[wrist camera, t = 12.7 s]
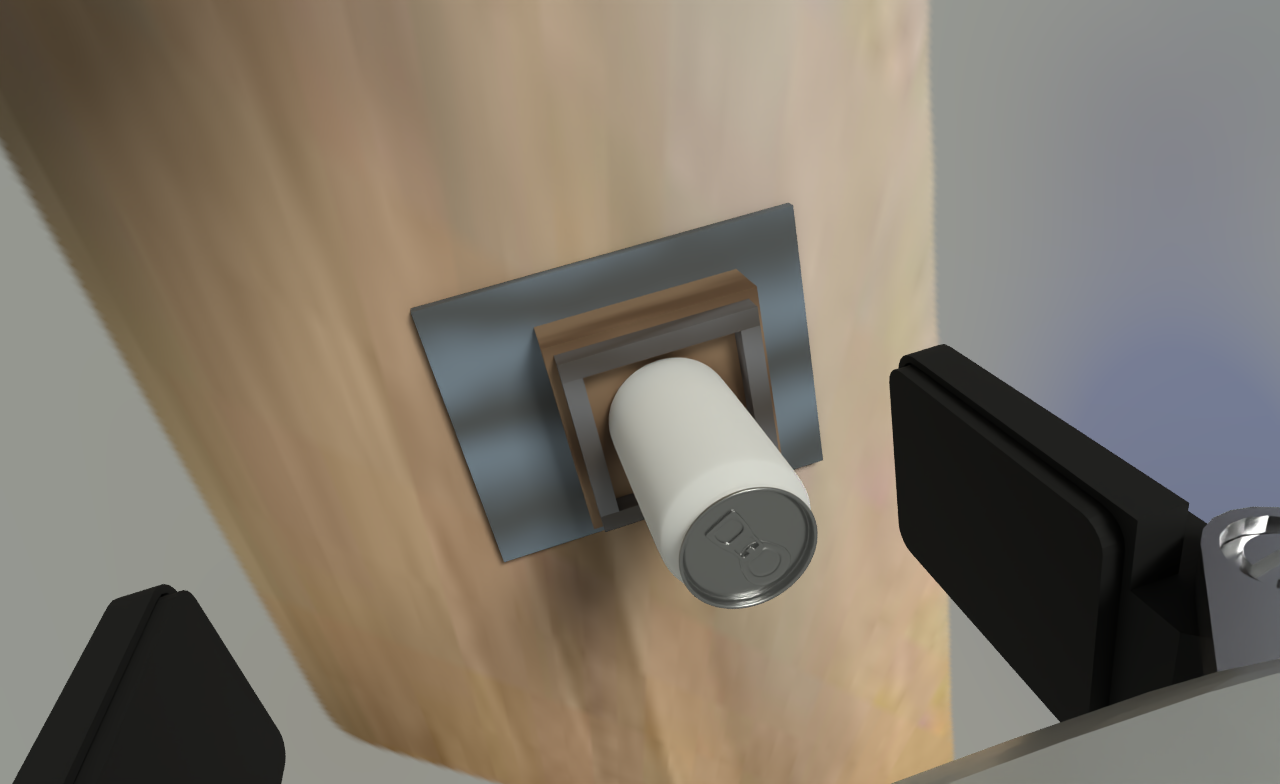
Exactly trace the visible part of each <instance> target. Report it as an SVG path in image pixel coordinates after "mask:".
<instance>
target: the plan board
mask: <svg viewBox="0 0 1280 784" xmlns="http://www.w3.org/2000/svg"><path fill="white" fill-rule="evenodd" d="M411 315H412V317H413V320H414V323H415V325H416V328H417V331H418V333H419V336H420V339H421V341H422V344H423V347H424V349H425V352H426V355H427V357H428V360H429V363H430V365H431V368H432V371H433V373H434V376H435V379H436V381H437V384H438V387H439V389H440V392H441V395H442V397H443V400H444V403H445V405H446V408H447V411H448V413H449V416H450V419H451V421H452V424H453V427H454V430H455V432H456V435H457V438H458V440H459V443H460V446H461V448H462V451H463V454H464V456H465V459H466V462H467V464H468V467H469V470H470V472H471V475H472V478H473V480H474V483H475V486H476V488H477V491H478V494H479V496H480V499H481V502H482V504H483V507H484V510H485V512H486V515H487V518H488V520H489V523H490V526H491V528H492V531H493V534H494V536H495V539H496V542H497V544H498V547H499V550H500V552H501V555H502V558H503V560H504V562H506V561H509V560H512V559H516V558H519V557H522V556H525V555H528V554H531V553H534V552H537V551H540V550H544V549H547V548H550V547H553V546H556V545H559V544H562V543H565V542H569V541H572V540H575V539H578V538H581V537H584V536H587V535H590V534H594V533H597V532H600V531H603V530H605V532H607V531H610V530H613V529H616V528H620V527H623V526H626V525H629V524H632V523H635V522H638V521H641V520H645V519H644V516H643V514H642V511H641V509H640V507H639V504H638V502H637V500H636V497H635V495H634V492H633V490H632V488H631V485H630V483H629V480H628V478H627V476H626V473H625V471H624V468H623V466H622V464H621V461H620V459H619V456H618V454H617V451H616V449H615V446H614V444H613V441H612V438H611V435H610V430H609V412H610V407H611V404H612V401H613V399H614V397H615V395H616V393H617V391H618V390H619V388H620V387H621V385H622V384H623V383H624V382H625V381H626V380H627V378H629V377H630V376H631V375H632V374H633V373H634V372H636V371H637V370H639V369H640V368H642V367H643V366H645V365H647V364H650V363H652V362H655V361H658V360H661V359H666V358H688V359H693V360H696V361H699V362H701V363H703V364H705V365H707V366H709V367H710V368H711V369H713V370H714V371H715V372H716V373H717V374H718V375H719V376H720V377H721V378H722V380H723V381H724V382H725V383H726V384H727V386H728V387H729V388H730V389H731V391H732V392H733V393H734V394H735V396H736V397H737V398H738V399H739V401H740V402H741V403H742V404H743V406H744V407H745V408H746V410H747V411H748V412H749V413H750V415H751V416H752V417H753V418H754V420H755V421H756V422H757V424H758V425H759V426H760V427H761V429H762V430H763V431H764V432H765V434H766V435H767V436H768V438H769V439H770V440H771V441H772V443H773V444H774V445H775V447H776V448H777V449H778V450H779V452H780V453H781V454H782V456H783V457H784V458H785V459H786V461H787V462H788V463H789V465H790V466H791V467H792V469H797V468H800V467H803V466H806V465H809V464H812V463H815V462H818V461H822V460H823V456H822V448H821V439H820V431H819V422H818V414H817V405H816V397H815V388H814V380H813V371H812V363H811V354H810V346H809V337H808V329H807V320H806V312H805V303H804V295H803V286H802V278H801V269H800V261H799V252H798V244H797V235H796V227H795V218H794V210H793V205H792V204H790V203H786V204H782V205H779V206H775V207H772V208H768V209H764V210H761V211H757V212H754V213H750V214H747V215H743V216H739V217H736V218H732V219H729V220H725V221H722V222H718V223H714V224H711V225H707V226H704V227H700V228H697V229H693V230H689V231H686V232H682V233H679V234H675V235H672V236H668V237H664V238H661V239H657V240H654V241H650V242H647V243H643V244H639V245H636V246H632V247H629V248H625V249H621V250H618V251H614V252H611V253H607V254H604V255H600V256H596V257H593V258H589V259H586V260H582V261H579V262H575V263H571V264H568V265H564V266H561V267H557V268H554V269H550V270H546V271H543V272H539V273H536V274H532V275H529V276H525V277H521V278H518V279H514V280H511V281H507V282H504V283H500V284H496V285H493V286H489V287H486V288H482V289H479V290H475V291H471V292H468V293H464V294H461V295H457V296H454V297H450V298H446V299H443V300H439V301H436V302H432V303H429V304H425V305H421V306H418V307H414V308H411Z"/></svg>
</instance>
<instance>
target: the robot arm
mask: <svg viewBox="0 0 1280 784" xmlns="http://www.w3.org/2000/svg"><path fill="white" fill-rule="evenodd" d="M889 384H890V399H891V414H892V429H893V444H894V459H895V474H896V489H897V504H898V519H899V528H900V532H901V536H902V538H903V541H904V543H905V545H906V546H907V548H908V549H909V551H910V552H911V553H912V554H913V556H914V557H915V558H916V559H917V560H918V561H919V562H920V564H921V565H922V566H923V567H924V568H925V569H926V570H927V571H928V573H929V574H930V575H931V576H932V577H933V578H934V579H935V581H936V582H937V583H938V584H939V585H940V586H941V587H942V588H943V590H944V591H945V592H946V593H947V594H948V595H949V596H950V598H951V599H952V600H953V601H954V602H955V603H956V604H957V605H958V607H959V608H960V609H961V610H962V611H963V612H964V613H965V615H966V616H967V617H968V618H969V619H970V620H971V621H972V623H973V624H974V625H975V626H976V627H977V628H978V629H979V630H980V632H981V633H982V634H983V635H984V636H985V637H986V638H987V640H988V641H989V642H990V643H991V644H992V645H993V646H994V648H995V649H996V650H997V651H998V652H999V653H1000V654H1001V655H1002V657H1003V658H1004V659H1005V660H1006V661H1007V662H1008V663H1009V665H1010V666H1011V667H1012V668H1013V669H1014V670H1015V671H1016V673H1017V674H1018V675H1019V676H1020V677H1021V678H1022V679H1023V680H1024V682H1025V683H1026V684H1027V685H1028V686H1029V687H1030V688H1031V690H1032V691H1033V692H1034V693H1035V694H1036V695H1037V696H1038V698H1039V699H1040V700H1041V701H1042V702H1043V703H1044V704H1045V705H1046V707H1047V708H1048V709H1049V710H1050V711H1051V712H1052V713H1053V715H1054V716H1055V717H1056V718H1057V719H1058V720H1059V721H1060V722H1061V723H1058V724H1055V725H1052V726H1050V727H1046V728H1044V729H1040V730H1038V731H1035V732H1032V733H1029V734H1026V735H1023V736H1020V737H1017V738H1014V739H1012V740H1009V741H1006V742H1004V743H1001V744H998V745H995V746H993V747H990V748H987V749H985V750H982V751H979V752H976V753H974V754H971V755H968V756H965V757H963V758H960V759H957V760H954V761H952V762H949V763H946V764H944V765H941V766H938V767H935V768H933V769H930V770H927V771H924V772H922V773H919V774H916V775H914V776H911V777H908V778H905V779H903V780H900V781H897V782H894V783H892V784H1280V508H1279V507H1248V508H1243V509H1236V510H1230V511H1228V512H1226V513H1223V514H1221V515H1219V516H1216V517H1214V518H1213V519H1212V520H1211V521H1210V522H1209V523H1208V524H1207V523H1205V522H1204V521H1202V520H1201V519H1199V518H1198V517H1196V516H1195V515H1193V514H1192V513H1190V512H1189V511H1188V508H1189V503H1188V502H1187V501H1185V500H1184V499H1182V498H1180V497H1179V496H1178V495H1176V494H1175V493H1173V492H1172V491H1170V490H1168V489H1167V488H1165V487H1164V486H1162V485H1161V484H1159V483H1158V482H1156V481H1155V480H1153V479H1152V478H1150V477H1149V476H1147V475H1146V474H1144V473H1143V472H1141V471H1139V470H1138V469H1136V468H1135V467H1133V466H1132V465H1130V464H1129V463H1127V462H1126V461H1124V460H1123V459H1121V458H1120V457H1118V456H1117V455H1115V454H1113V453H1112V452H1110V451H1109V450H1107V449H1106V448H1104V447H1103V446H1101V445H1100V444H1098V443H1097V442H1095V441H1093V440H1092V439H1090V438H1089V437H1087V436H1086V435H1084V434H1083V433H1081V432H1080V431H1078V430H1077V429H1075V428H1074V427H1072V426H1071V425H1069V424H1068V423H1066V422H1065V421H1063V420H1061V419H1060V418H1058V417H1057V416H1055V415H1054V414H1052V413H1051V412H1049V411H1048V410H1046V409H1045V408H1043V407H1042V406H1040V405H1038V404H1037V403H1035V402H1034V401H1032V400H1031V399H1029V398H1028V397H1026V396H1025V395H1023V394H1022V393H1020V392H1019V391H1017V390H1015V389H1014V388H1013V387H1011V386H1009V385H1008V384H1006V383H1005V382H1003V381H1002V380H1000V379H999V378H997V377H996V376H994V375H993V374H991V373H990V372H988V371H987V370H985V369H983V368H982V367H980V366H979V365H977V364H976V363H974V362H973V361H971V360H970V359H968V358H967V357H965V356H963V355H962V354H960V353H959V352H957V351H956V350H954V349H953V348H951V347H950V346H947V345H945V344H942V345H937V346H934V347H931V348H928V349H924V350H921V351H918V352H915V353H911V354H908V355H905V356H903V357H902V358H901V359H900V363H899V369H895V370H893V371H892V372H891V374H890V381H889ZM284 766H285V747H284V742H283V739H282V736H281V734H280V732H279V730H278V729H277V727H276V725H275V724H274V722H273V721H272V719H271V717H270V716H269V714H268V713H267V711H266V709H265V708H264V706H263V705H262V703H261V702H260V700H259V698H258V697H257V695H256V694H255V692H254V690H253V689H252V687H251V686H250V684H249V682H248V681H247V679H246V678H245V676H244V674H243V673H242V671H241V670H240V668H239V667H238V665H237V663H236V662H235V660H234V659H233V657H232V656H231V654H230V652H229V651H228V649H227V648H226V646H225V644H224V643H223V641H222V640H221V638H220V636H219V635H218V633H217V632H216V630H215V629H214V627H213V625H212V624H211V622H210V621H209V619H208V617H207V616H206V614H205V613H204V611H203V610H202V608H201V606H200V605H199V603H198V602H197V600H196V599H195V597H194V596H193V595H192V594H191V593H190V592H188V591H184V590H183V591H179V592H177V591H176V590H175V589H174V588H173V587H171V586H169V585H165V584H162V585H159V586H156V587H152V588H149V589H146V590H143V591H140V592H136V593H133V594H130V595H127V596H123V597H120V598H117V599H115V600H113V601H112V602H111V603H110V604H109V606H108V607H107V609H106V611H105V612H104V614H103V616H102V618H101V620H100V622H99V624H98V625H97V627H96V629H95V631H94V633H93V635H92V637H91V639H90V640H89V642H88V644H87V646H86V648H85V650H84V652H83V653H82V655H81V657H80V659H79V661H78V663H77V665H76V666H75V668H74V670H73V672H72V674H71V676H70V678H69V679H68V681H67V683H66V685H65V687H64V689H63V691H62V693H61V695H60V696H59V698H58V700H57V702H56V704H55V706H54V707H53V709H52V711H51V713H50V715H49V717H48V718H47V720H46V722H45V724H44V726H43V728H42V730H41V731H40V733H39V735H38V737H37V739H36V741H35V743H34V744H33V746H32V748H31V750H30V752H29V754H28V756H27V757H26V760H25V761H24V763H23V765H22V767H21V769H20V770H19V772H18V774H17V776H16V778H15V780H14V782H13V784H281V782H282V776H283V771H284Z"/></svg>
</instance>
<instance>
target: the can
mask: <svg viewBox="0 0 1280 784" xmlns="http://www.w3.org/2000/svg"><path fill="white" fill-rule="evenodd" d="M609 430H610V435H611V438H612V441H613V444H614V446H615V449H616V451H617V454H618V456H619V459H620V461H621V464H622V466H623V468H624V471H625V473H626V476H627V478H628V480H629V483H630V485H631V488H632V490H633V492H634V495H635V497H636V500H637V502H638V504H639V507H640V509H641V511H642V514H643V516H644V519H645V521H646V523H647V526H648V528H649V530H650V533H651V535H652V537H653V540H654V542H655V544H656V546H657V549H658V551H659V553H660V555H661V557H662V559H663V561H664V563H665V564H666V566H667V568H668V569H669V570H670V572H671V573H672V574H673V575H674V576H675V577H676V578H677V579H679V580H680V581H681V582H682V583H684V584H685V586H686V587H687V589H688V590H689V591H690V592H691V593H692V594H693V595H694V596H695V597H696V598H698V599H699V600H701V601H702V602H704V603H706V604H709V605H712V606H715V607H719V608H726V609H739V608H747V607H751V606H755V605H758V604H761V603H764V602H766V601H769V600H771V599H773V598H775V597H776V596H778V595H780V594H781V593H783V592H784V591H785V590H787V589H788V588H789V587H790V586H792V585H793V584H794V583H795V582H796V581H797V580H798V579H799V578H800V576H801V575H802V574H803V573H804V571H805V570H806V568H807V567H808V565H809V563H810V562H811V559H812V557H813V555H814V552H815V549H816V544H817V525H816V521H815V518H814V516H813V513H812V512H811V507H810V501H809V497H808V494H807V491H806V489H805V487H804V485H803V483H802V481H801V480H800V478H799V477H798V476H797V474H796V473H795V471H794V470H793V469H792V467H791V466H790V465H789V463H788V462H787V461H786V459H785V458H784V457H783V456H782V454H781V453H780V452H779V450H778V449H777V448H776V447H775V445H774V444H773V443H772V441H771V440H770V439H769V438H768V436H767V435H766V434H765V432H764V431H763V430H762V429H761V427H760V426H759V425H758V424H757V422H756V421H755V420H754V418H753V417H752V416H751V415H750V413H749V412H748V411H747V410H746V408H745V407H744V406H743V404H742V403H741V402H740V401H739V399H738V398H737V397H736V396H735V394H734V393H733V392H732V391H731V389H730V388H729V387H728V386H727V384H726V383H725V382H724V381H723V380H722V378H721V377H720V376H719V375H718V374H717V373H716V372H715V371H714V370H713V369H711V368H710V367H709V366H707V365H705V364H703V363H701V362H699V361H696V360H693V359H688V358H666V359H661V360H658V361H655V362H652V363H650V364H647V365H645V366H643V367H642V368H640V369H639V370H637V371H636V372H634V373H633V374H632V375H631V376H630V377H629V378H627V380H626V381H625V382H624V383H623V384H622V385H621V387H620V388H619V390H618V391H617V393H616V395H615V397H614V399H613V401H612V404H611V407H610V412H609Z"/></svg>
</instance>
